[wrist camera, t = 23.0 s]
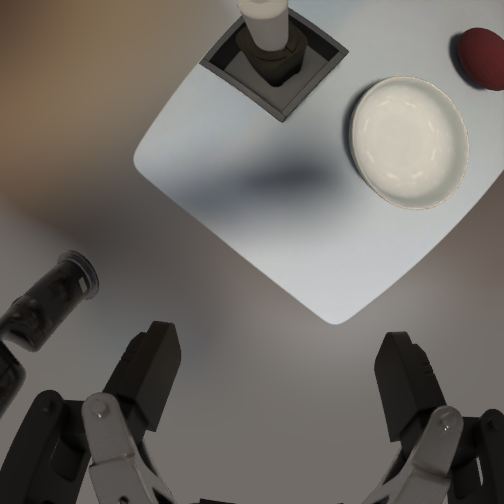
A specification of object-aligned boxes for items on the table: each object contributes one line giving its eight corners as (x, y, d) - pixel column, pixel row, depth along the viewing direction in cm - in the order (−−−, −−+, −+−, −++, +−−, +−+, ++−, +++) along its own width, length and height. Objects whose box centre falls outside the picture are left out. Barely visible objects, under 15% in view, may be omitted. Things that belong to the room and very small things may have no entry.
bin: (282, 122, 34) (281, 122, 27) (216, 73, 31) (198, 63, 24) (337, 64, 29) (349, 51, 22) (269, 15, 26) (264, -7, 20)
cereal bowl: (460, 135, 30) (487, 141, 23) (405, 216, 37) (424, 235, 31) (378, 59, 27) (396, 48, 21) (317, 148, 35) (323, 154, 28)
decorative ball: (496, 63, 21) (532, 60, 13) (482, 103, 26) (521, 106, 17) (454, 22, 21) (488, 9, 12) (439, 62, 25) (475, 53, 16)
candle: (275, 90, 31) (250, 32, 9) (249, 64, 30) (180, -20, 8) (304, 68, 29) (334, -20, 7) (278, 42, 28) (259, -69, 6)
